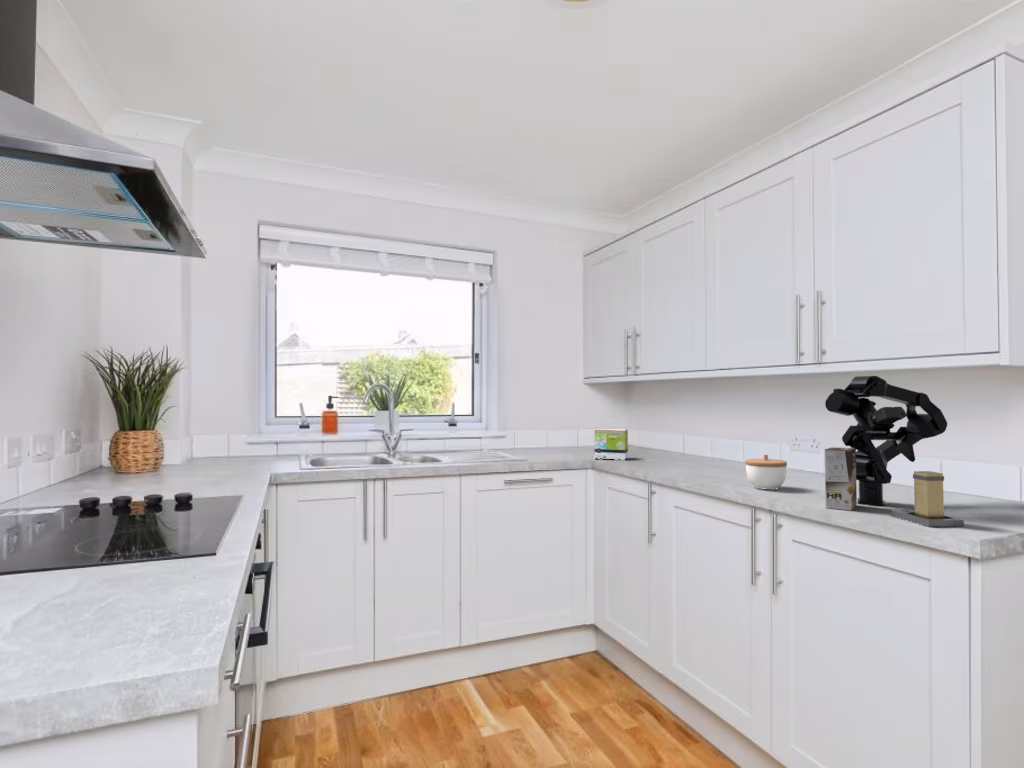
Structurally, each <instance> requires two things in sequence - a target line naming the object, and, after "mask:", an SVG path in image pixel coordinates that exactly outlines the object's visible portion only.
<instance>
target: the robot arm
mask: <svg viewBox="0 0 1024 768" xmlns="http://www.w3.org/2000/svg"><path fill="white" fill-rule="evenodd" d="M870 397H873V398H881V399H885V400H889V401H892V402H895V403H900V404H903V405H905V407H906V411H905V409H904V408H903V407H902V406H883V407H880V408H879V409H876V407H875V406H876V405H877V403H876V402H875V401H872V400H870V399H869V398H870ZM824 405H825V408H826V410H827V411H828V412H830V413H834V414H839V415H842V416H847V417H850V416H853V417H854V419H855V421H856V422H857V424H856V425H850V426H849V427H848V428H847V430H846V431H845V432H844V434H843V435H842V438H841V441H842V443H843V444H844V446H846V447H849V448H855V449H856V481H858V496H859V497H857V504H860V505H861V504H862V505H875V506H886V503H885V502H886V501H885V500H884V493H883V492H884V490H883V489H884V488H883V486H884V485H886V484H890V483H891V481H892V477H893V476H892V474H891V473H890V472H889V471H888V470H887V468H888V463H889V462H890V461H891V460H893V459H895V458H896V457H898V456H899V455H903V456H904V457H905V458H906V459H907V460H909V462H911V463H914V462H915V460H916V456H915V450H914V445H915V444H917V443H918V442H920V441H921V440H925V439H928V438H929V439H930V438H934V437H937V436H940V435H942V434H943V433H945V432H946V431H947V427H948V421H947V419H946V417H945V415H944V413H943V412H942V410H941V408H939V407H938V406H937V405H936V404H934V402H932V401H931V399H930V398H929V395H928V394H926V393H924V392H918V391H915V390H911V389H907V388H904V387H903V388H902V387H900V386H896V385H893V384H890V383H888V382H887V381H886V380H885V379H884V378H881V377H879V376H878V375H864V376H863V375H861V376H860V375H859V376H854V377H853V378H852V380H851V382H850V383H848V385H847V386H845V388H844V389H843V388H834V389H833V392H831V393H829V395H828V396H827V398H826V399H825V404H824ZM916 407H920V408H921V410H922V411H924V412H925V413H918V412H917V410H916ZM904 418H906V419H907V422H906V426H900V427H899V428H898V429H897V430H896V431H891V429H893V428H894V427H895V423H896V422H898V421H901V420H903V419H904ZM873 441H884V442H882V443H880V444H879V445H878V446H877V447H876V446H875V445H874V443H873Z"/></svg>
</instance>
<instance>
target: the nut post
mask: <svg viewBox="0 0 1024 768" xmlns="http://www.w3.org/2000/svg"><path fill="white" fill-rule="evenodd" d="M912 479H913V485H914V486H913V490H914V491H913V492H914V493H913V494H914V495H913V496H914V510H915V516H917V517H921V518H924V519H944V515H945V514H944V513H945V508H944V507H945V506H944V505H945V504H944V503H945V502H944V481H945V476H944V473H943V472H942V473H941V472H936V471H930V470H922V471H920V470H919V471H917V470H915V471H913V473H912Z"/></svg>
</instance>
